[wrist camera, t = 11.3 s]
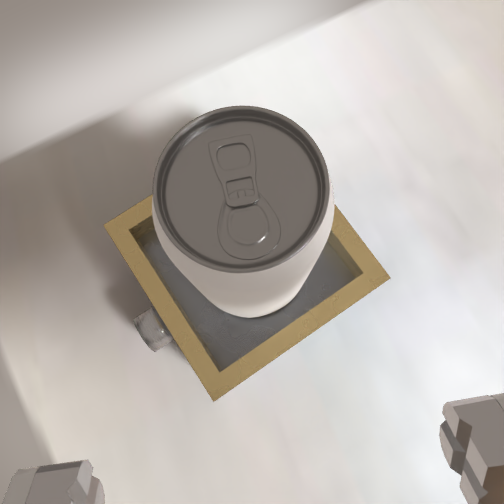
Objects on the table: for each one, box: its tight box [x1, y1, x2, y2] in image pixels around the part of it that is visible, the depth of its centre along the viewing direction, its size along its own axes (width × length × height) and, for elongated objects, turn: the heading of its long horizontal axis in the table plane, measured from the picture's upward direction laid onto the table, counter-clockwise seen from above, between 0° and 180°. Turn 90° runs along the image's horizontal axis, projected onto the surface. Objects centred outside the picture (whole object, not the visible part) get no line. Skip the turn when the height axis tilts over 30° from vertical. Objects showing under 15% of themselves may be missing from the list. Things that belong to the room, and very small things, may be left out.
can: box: [152, 106, 334, 318], centre depth 20 cm, size 6×6×12 cm
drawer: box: [104, 194, 390, 402], centre depth 27 cm, size 13×11×7 cm
